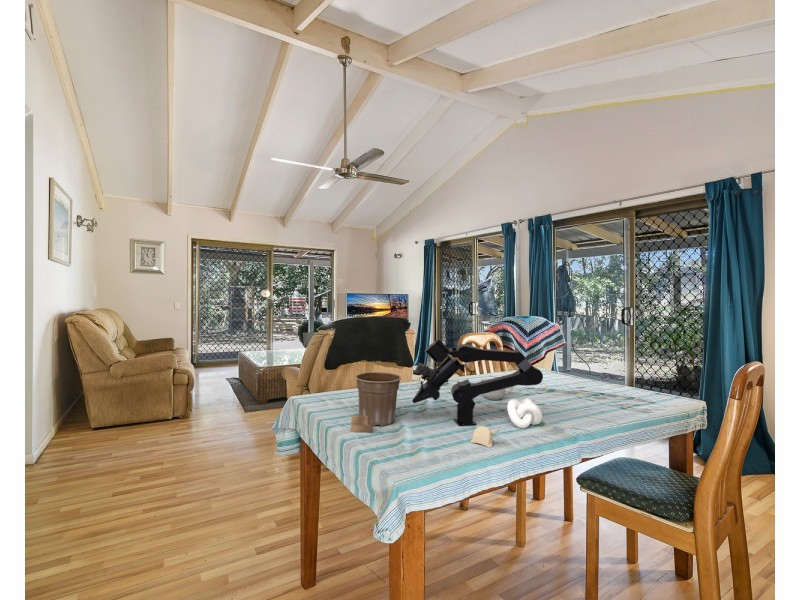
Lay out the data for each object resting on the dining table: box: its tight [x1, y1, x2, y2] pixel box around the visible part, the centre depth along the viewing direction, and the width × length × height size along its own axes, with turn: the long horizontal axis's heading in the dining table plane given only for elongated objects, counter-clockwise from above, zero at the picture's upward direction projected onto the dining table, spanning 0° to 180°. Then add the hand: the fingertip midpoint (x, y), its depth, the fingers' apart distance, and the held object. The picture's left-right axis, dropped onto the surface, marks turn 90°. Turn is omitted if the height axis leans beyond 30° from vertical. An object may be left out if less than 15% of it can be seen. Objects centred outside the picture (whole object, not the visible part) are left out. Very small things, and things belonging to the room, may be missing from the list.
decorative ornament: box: [469, 425, 500, 448], centre depth 126 cm, size 4×8×5 cm, turn 50°
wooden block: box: [350, 408, 374, 434], centre depth 147 cm, size 7×24×6 cm, turn 179°
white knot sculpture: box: [506, 397, 543, 429], centre depth 146 cm, size 11×12×9 cm
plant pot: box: [355, 371, 402, 427], centre depth 146 cm, size 16×16×16 cm
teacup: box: [480, 378, 514, 401], centre depth 180 cm, size 14×11×8 cm
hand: (413, 402), depth 146 cm, fingers closed
